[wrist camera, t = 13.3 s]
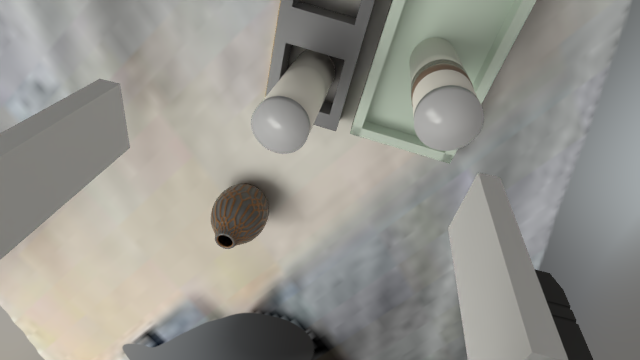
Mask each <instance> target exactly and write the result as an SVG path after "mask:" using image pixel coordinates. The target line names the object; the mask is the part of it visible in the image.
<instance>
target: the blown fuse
mask: <svg viewBox="0 0 640 360" xmlns="http://www.w3.org/2000/svg"><path fill="white" fill-rule="evenodd" d="M409 67H410V79H411V100H412V107H413V117H414V128H415V132H416V134H417V136H418V138H419V139H420V140H421V142H423V143H424V144H425V145H426V146H428V147H430V148H432V149H435V150H440V151H451V150H456V149H459V148H462V147H464V146H466V145H467V144H469V143H470V142H472V141H473V140H474V139H475V138H476V137H477V135H478V134H479V132H480V131H481V129H482V126H483V123H484V111H483V108H482V106H481V104H480V101H479V99H478V97H477V95H476V93H475V91H474V88H473V85H472V83H471V81H470V78H469V76H468V74H467V72H466V71H465V69H464V67H463V65H462V63H461V61H460V59H459V57H458V55H457V53H456V50H455V48H454V47H453V45H452V44H451V43H450V42H449V41H447V40H445V39H443V38H437V37H435V38H429V39H426V40H424V41H422V42H420V43H419V44H418V45H417V46H416V47H415V48H414V50H413V51H412V53H411V56H410V60H409Z"/></svg>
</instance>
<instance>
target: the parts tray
mask: <svg viewBox="0 0 640 360" xmlns="http://www.w3.org/2000/svg"><path fill="white" fill-rule="evenodd" d="M535 2H536V0H392V2H391V5H390V8H389V11H388V15H387V18H386V21H385V24H384V27H383V30H382V33H381V36H380V40H379V43H378V46H377V49H376V52H375V55H374V58H373V61H372V64H371V68H370V71H369V74H368V77H367V80H366V83H365V86H364V89H363V93H362V96H361V99H360V102H359V105H358V108H357V111H356V114H355V118H354V121H353V124H352V128H351V132H350V134H353V135H356V136H359V137H363V138H366V139H369V140H373V141H376V142H379V143H383V144H386V145H389V146H393V147H396V148H399V149H403V150H406V151H409V152H413V153H416V154H419V155H423V156H426V157H429V158H433V159H436V160H439V161H443V162H446V163H449V164H450V162H451V160H452V159H453V157H454V155H455V153H456V151H457V149H456V150H451V151H440V150H435V149H432V148H430V147H428V146H426V145H425V144H424V143H423V142H421V140H420V139H419V138H418V136H417V134H416V132H415V128H414V117H413V107H412V100H411V79H410V67H409V60H410V56H411V53H412V51H413V50H414V48H415V47H416V46H417V45H418V44H419V43H420V42H422V41H424V40H426V39H429V38H435V37H437V38H443V39H445V40H447V41H449V42H450V43H451V44H452V45H453V47H454V48H455V50H456V53H457V55H458V57H459V59H460V61H461V63H462V65H463V67H464V69H465V71H466V72H467V74H468V76H469V78H470V81H471V83H472V85H473V88H474V91H475V93H476V95H477V97H478V99H479V101H480V104H482V102H483V100H484V98H485V96H486V94H487V93H488V91H489V89H490V87H491V85H492V83H493V81H494V79H495V77H496V76H497V74H498V72H499V70H500V68H501V66H502V64H503V62H504V60H505V59H506V57H507V55H508V53H509V51H510V49H511V47H512V45H513V44H514V42H515V40H516V38H517V36H518V34H519V32H520V30H521V28H522V27H523V25H524V23H525V21H526V19H527V17H528V15H529V13H530V11H531V10H532V8H533V6H534V4H535Z"/></svg>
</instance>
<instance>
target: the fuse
mask: <svg viewBox="0 0 640 360" xmlns="http://www.w3.org/2000/svg"><path fill="white" fill-rule="evenodd" d="M334 77H335V66H334V63H333V61H332V60H331V58H330V57H329V56H328V55H326V54H322V53H319V52H316V51H312V50H307V51H305V52H303V53H301V54H300V55H299V56H298V58H297V59H296V60H295V61H294V62H293V64H292V65H291V66H290V67H289V69H288V70H287V71H286V72H285V74H284V75H283V76H282V77H281V78H280V80H279V81H278V82H277V83H276V85H275V86H274V87H273V88H272V90H271V91H270V92H269V93H268V95H267V96H266V97H265V98H264V99H263V101H262V102H261V103H260V104H259V106H258V107H257V108H256V109H255V111H254V113H253V115H252V119H251V127H252V131H253V134H254V136H255V138H256V139H257V140H258V142H259V143H260V144H261V145H262V146H264V147H265V148H267V149H268V150H270V151H273V152H276V153H281V154H286V153H292V152H295V151H297V150H298V149H300V148H301V147H302V146H303V145H304V143H305V142H306V140H307V137H308V135H309V133H310V131H311V129H312V126H313V124H314V122H315V120H316V117H317V115H318V113H319V111H320V109H321V106H322V104H323V102H324V100H325V97H326V95H327V93H328V91H329V89H330V86H331V84H332V82H333V80H334Z"/></svg>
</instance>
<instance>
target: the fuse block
mask: <svg viewBox="0 0 640 360" xmlns="http://www.w3.org/2000/svg"><path fill="white" fill-rule="evenodd" d="M299 1H300V0H280V6H279V12H278V18H277V25H276V31H275V37H274V44H273V50H272V56H271V63H270V69H269V75H268V82H267V88H266V94H265V97H266V96H267V95H268V93H269V92H270V91H271V90H272V88H273V87H274V86H275V85H276V83H277V82H278V81H279V80H280V78H281V77H282V76H283V75H284V74H285V72H286V71H287V66H288V60H289V55H290V50H291V44H292V45H295V46H299V47H302V48H305V49H309V50H312V51H316V52H319V53H322V54H326V55H329V56H332V57H336V58H339V59H343V60H345V61H344V65H343V68H342V72H341V76H340V79H339V83H338V87H337V90H336V94H335V97H334V101H333V103H330V102H326V101H324V102H323V104H322V106H321V109H320V111H319V113H318V115H317V117H316V120H315V122H314V124H313V125H316V126H320V127H323V128H326V129H330V130H333V131H336V130H337V127H338V123H339V120H340V117H341V114H342V110H343V107H344V104H345V100H346V97H347V93H348V90H349V87H350V83H351V80H352V76H353V73H354V70H355V66H356V63H357V60H358V56H359V53H360V49H361V46H362V43H363V39H364V36H365V33H366V29H367V26H368V22H369V19H370V16H371V12H372V9H373V5H374V2H375V0H361V3H360V7H359V10H358V14H357V18H354V17H350V16H347V15H343V14H340V13H337V12H333V11H330V10H326V9H323V8H320V7H316V6H313V5H310V4H306V3H303V2H299Z"/></svg>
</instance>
